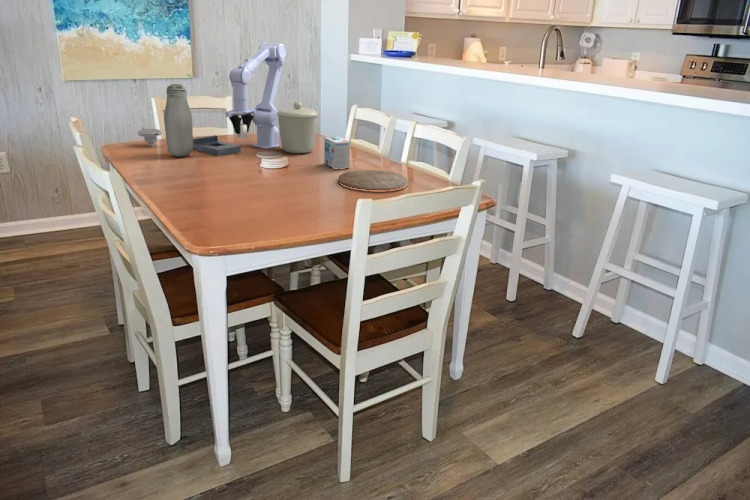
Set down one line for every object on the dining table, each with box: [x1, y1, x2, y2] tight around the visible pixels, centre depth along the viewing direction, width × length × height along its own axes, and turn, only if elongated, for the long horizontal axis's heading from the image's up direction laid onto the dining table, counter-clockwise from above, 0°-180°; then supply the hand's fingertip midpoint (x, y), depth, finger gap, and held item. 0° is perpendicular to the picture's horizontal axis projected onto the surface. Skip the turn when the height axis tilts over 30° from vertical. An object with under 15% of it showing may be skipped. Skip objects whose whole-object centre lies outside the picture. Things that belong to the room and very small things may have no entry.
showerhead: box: [137, 126, 163, 147], centre depth 244 cm, size 9×7×10 cm
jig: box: [192, 134, 242, 157], centre depth 243 cm, size 12×16×4 cm
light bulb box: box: [323, 136, 351, 168], centre depth 226 cm, size 11×7×11 cm, turn 27°
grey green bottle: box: [163, 83, 194, 158], centre depth 226 cm, size 10×10×28 cm
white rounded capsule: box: [236, 123, 248, 139], centre depth 238 cm, size 4×4×5 cm
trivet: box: [337, 169, 409, 190], centre depth 207 cm, size 25×25×2 cm
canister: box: [276, 101, 320, 155], centre depth 246 cm, size 18×18×21 cm
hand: (241, 133), depth 238 cm, fingers closed on white rounded capsule, 4 cm apart
